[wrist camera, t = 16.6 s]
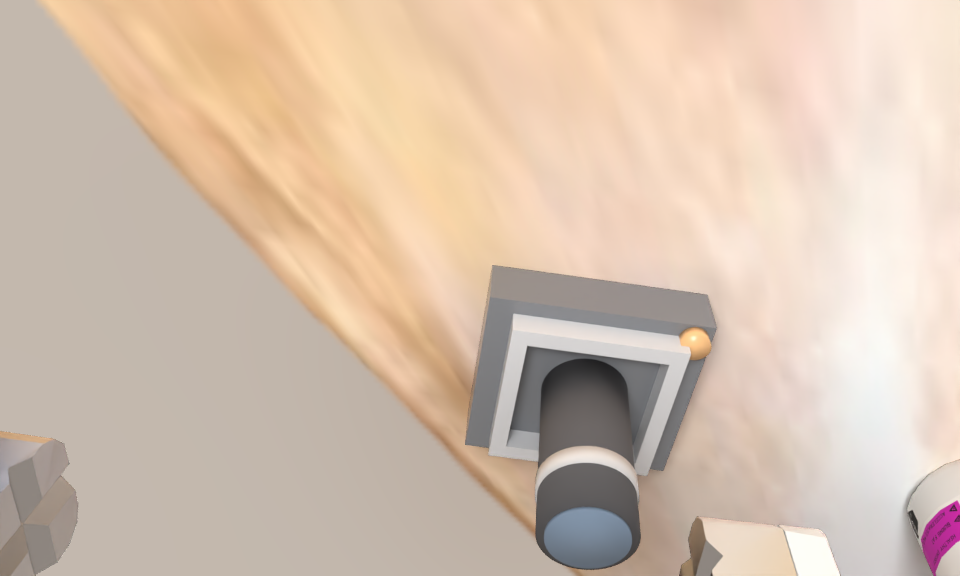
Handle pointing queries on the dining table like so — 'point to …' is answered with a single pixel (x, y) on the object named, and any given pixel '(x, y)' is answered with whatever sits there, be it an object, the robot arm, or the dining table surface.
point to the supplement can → (938, 519)
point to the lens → (586, 468)
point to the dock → (585, 356)
